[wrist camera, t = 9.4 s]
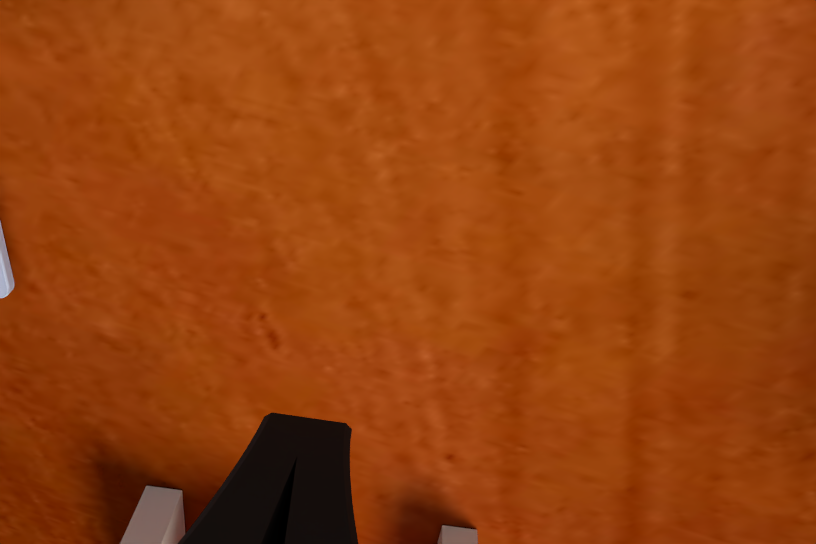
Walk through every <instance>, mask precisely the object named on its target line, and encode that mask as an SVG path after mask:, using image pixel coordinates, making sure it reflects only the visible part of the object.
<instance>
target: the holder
mask: <svg viewBox="0 0 816 544" xmlns="http://www.w3.org/2000/svg"><path fill="white" fill-rule="evenodd" d="M184 535H185V521H184V507H183V493H182V490H176V489H169V488H161V487H154V486H146V487H145V490H144V492H143V494H142V496H141V498H140V501H139V503H138V505H137V507H136V509H135V512H134V514H133V516H132V518H131V520H130V523H129V525H128V527H127V529H126V531H125V534H124V536H123V538H122V540H121V542H120V544H178V542H179V541H180V540H181V539H182V537H183V536H184ZM437 544H478V537H477V530H475V529H468V528H460V527H453V526H445V525H442V528H441V532H440V535H439V539H438V543H437Z"/></svg>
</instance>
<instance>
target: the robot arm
mask: <svg viewBox="0 0 816 544" xmlns="http://www.w3.org/2000/svg"><path fill="white" fill-rule="evenodd" d="M13 288H14V279H13V275H12V270H11V266H10V262H9V257H8V253H7V248H6V244H5V240H4V235H3V231H2V226H1V222H0V298H4V297H6V296H8V294H9V293H10V292H11V291H12V290H13ZM351 431H352V429H351V428H350V427H349V426H348V425H347V424H346V423H340V422H333V421H326V420H319V419H312V418H305V417H299V416H292V415H285V414H278V413H270V414H268V415H267V416H265V417H264V419H263V420H262V422H261V424H260V426H259V428H258V430H257V432H256V433H255V435H254V437H253V439H252V440H251V442H250V444H249V445H248V447H247V449H246V450H245V452H244V453H243V455H242V456H241V458H240V460H239V461H238V463H237V464H236V466H235V467H234V469H233V470H232V471H231V473H230V474H229V476H228V477H227V479H226V480H225V482H224V483H223V485H222V486H221V487H220V489H219V490H218V491H217V493H216V494H215V495H214V497H213V498H212V500H211V501H210V502H209V504H208V505H207V506H206V508H205V509H204V510H203V512H202V513H201V515H200V516H199V517H198V519H197V520H196V521H195V522H194V524H193V525H192V526H191V528H190V529H189V530H188V531H187V533H186V534H185V535H184V536H183V537H182V539H181V540H180V541H179V542H178V544H358V540H357V533H356V527H355V520H354V513H353V505H352V494H351V482H350V439H351Z"/></svg>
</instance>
